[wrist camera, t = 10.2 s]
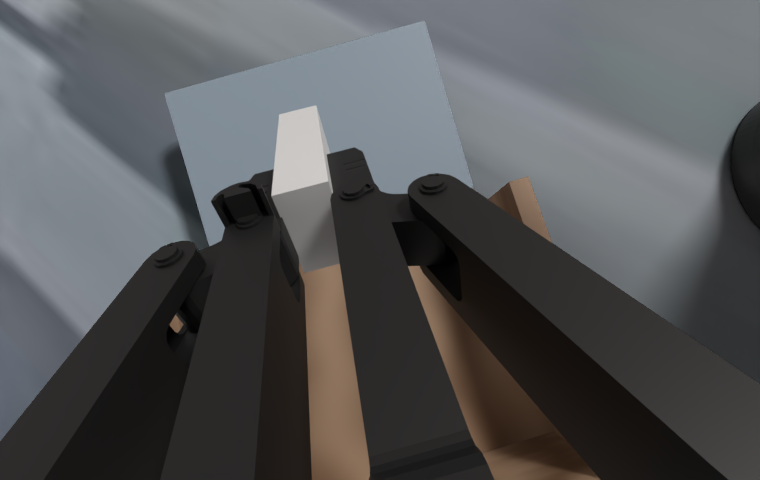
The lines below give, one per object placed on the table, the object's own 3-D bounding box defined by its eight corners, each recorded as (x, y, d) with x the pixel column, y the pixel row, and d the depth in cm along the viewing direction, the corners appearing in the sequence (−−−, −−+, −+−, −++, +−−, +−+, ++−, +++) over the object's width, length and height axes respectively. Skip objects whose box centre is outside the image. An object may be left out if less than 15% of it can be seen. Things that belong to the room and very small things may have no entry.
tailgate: (466, 191, 30) (421, 35, 30) (473, 187, 28) (424, 20, 28) (224, 261, 30) (178, 103, 30) (214, 263, 28) (164, 93, 28)
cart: (502, 203, 31) (596, 137, 17) (578, 427, 29) (756, 558, 15) (202, 291, 31) (51, 296, 17) (257, 526, 28) (137, 757, 15)
